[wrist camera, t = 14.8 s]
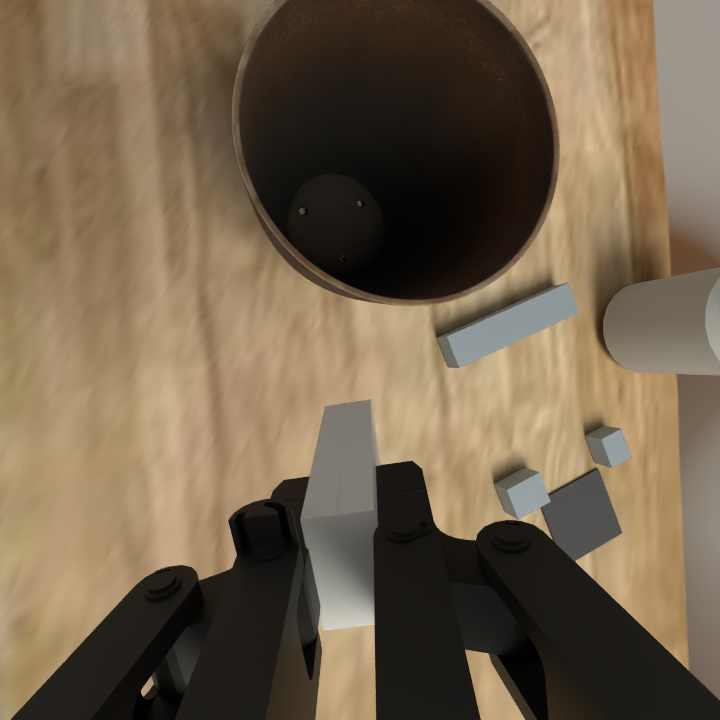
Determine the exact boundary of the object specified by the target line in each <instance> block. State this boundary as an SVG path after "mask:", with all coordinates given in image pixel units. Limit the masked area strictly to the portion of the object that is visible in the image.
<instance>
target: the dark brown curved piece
mask: <svg viewBox="0 0 720 720" xmlns="http://www.w3.org/2000/svg"><path fill="white" fill-rule="evenodd" d="M232 132H233V140H234V146H235V152H236V156H237V160H238V164H239V167H240V170H241V174H242V177H243V180H244V183H245V186H246V189H247V192H248V195H249V198H250V200H251V203H252V205H253V208H254V210H255V213H256V215H257V217H258V219H259V221H260V223H261V225H262V227H263V229H264V231H265V233H266V235H267V236H268V238H269V239H270V241H271V242H272V244H273V245H274V247H275V248H276V249H277V251H278V252H279V253H280V255H281V256H282V257H283V258H284V259H285V260H286V261H287V262H288V263H289V264H290V265H291V266H292V267H293V268H294V269H295V270H296V271H298V272H299V273H300V274H301V275H303V276H304V277H305V278H307V279H308V280H310V281H311V282H313V283H315V284H316V285H318V286H320V287H322V288H324V289H326V290H329V291H331V292H333V293H336V294H339V295H342V296H345V297H348V298H352V299H356V300H361V301H367V302H374V303H381V304H389V305H400V306H427V305H434V304H441V303H446V302H450V301H454V300H457V299H460V298H463V297H466V296H468V295H470V294H473V293H475V292H477V291H479V290H481V289H483V288H485V287H486V286H488V285H489V284H491V283H493V282H494V281H496V280H497V279H498V278H500V277H501V276H502V275H503V274H505V273H506V272H507V271H508V270H509V269H510V268H511V267H513V266H514V265H515V264H516V263H517V262H518V260H519V259H520V258H521V257H522V256H523V255H524V254H525V252H526V251H527V250H528V248H529V247H530V246H531V244H532V243H533V241H534V240H535V238H536V237H537V235H538V233H539V231H540V230H541V228H542V226H543V224H544V222H545V220H546V217H547V214H548V212H549V209H550V207H551V203H552V200H553V196H554V193H555V188H556V183H557V177H558V169H559V158H560V142H559V132H558V124H557V118H556V112H555V107H554V103H553V100H552V96H551V93H550V90H549V87H548V84H547V82H546V79H545V77H544V74H543V72H542V70H541V68H540V66H539V63H538V61H537V60H536V58H535V56H534V54H533V53H532V51H531V49H530V47H529V46H528V44H527V43H526V41H525V40H524V38H523V37H522V35H521V34H520V33H519V31H518V30H517V29H516V28H515V26H514V25H513V24H512V23H511V22H510V20H509V19H508V18H507V17H506V16H505V15H504V14H503V13H502V12H501V11H500V10H499V9H498V8H497V7H496V6H495V5H493V4H492V3H491V2H490V1H489V0H275V1H274V2H273V3H272V5H271V6H270V7H269V8H268V9H267V11H266V12H265V13H264V14H263V16H262V17H261V19H260V20H259V21H258V23H257V25H256V26H255V28H254V30H253V32H252V33H251V35H250V37H249V39H248V41H247V43H246V45H245V48H244V50H243V53H242V56H241V59H240V61H239V65H238V69H237V72H236V77H235V82H234V87H233V95H232ZM358 200H361V201H362V202H363V203H364V206H363V207H359V205H358V204H357V201H358ZM300 208H305V209H306V210H307V213H306V215H301V214H300V213H299V209H300ZM343 257H345V261H344V262H342V263H341V262H339V258H343Z"/></svg>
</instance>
